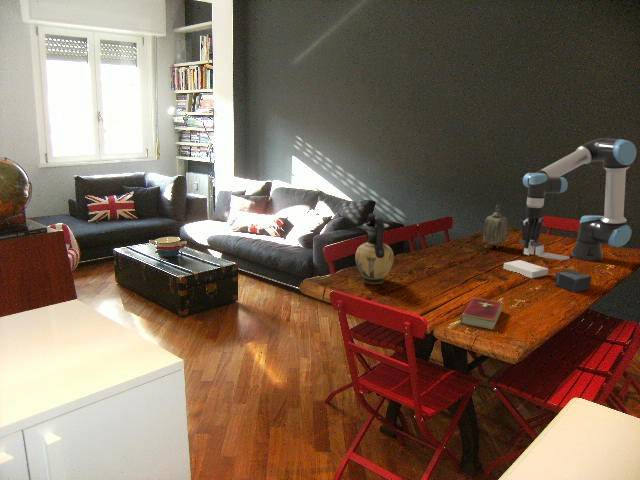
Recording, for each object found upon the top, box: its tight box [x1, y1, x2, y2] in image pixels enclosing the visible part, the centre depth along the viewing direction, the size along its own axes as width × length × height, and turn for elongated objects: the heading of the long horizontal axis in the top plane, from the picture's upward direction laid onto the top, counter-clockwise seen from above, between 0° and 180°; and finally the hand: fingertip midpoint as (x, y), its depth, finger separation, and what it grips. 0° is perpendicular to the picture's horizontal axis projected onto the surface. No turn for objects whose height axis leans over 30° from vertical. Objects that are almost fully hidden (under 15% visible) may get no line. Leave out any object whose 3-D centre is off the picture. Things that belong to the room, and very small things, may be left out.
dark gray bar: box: [518, 239, 571, 261], centre depth 252 cm, size 24×6×6 cm, turn 33°
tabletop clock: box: [482, 203, 509, 249], centre depth 302 cm, size 14×9×25 cm, turn 144°
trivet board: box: [502, 259, 549, 279], centre depth 261 cm, size 16×12×3 cm
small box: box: [554, 269, 593, 293], centre depth 239 cm, size 11×6×10 cm
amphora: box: [354, 213, 394, 285], centre depth 237 cm, size 18×17×30 cm
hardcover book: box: [459, 297, 504, 330], centre depth 203 cm, size 12×21×4 cm, turn 154°
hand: (528, 253), depth 259 cm, fingers closed on dark gray bar, 2 cm apart
